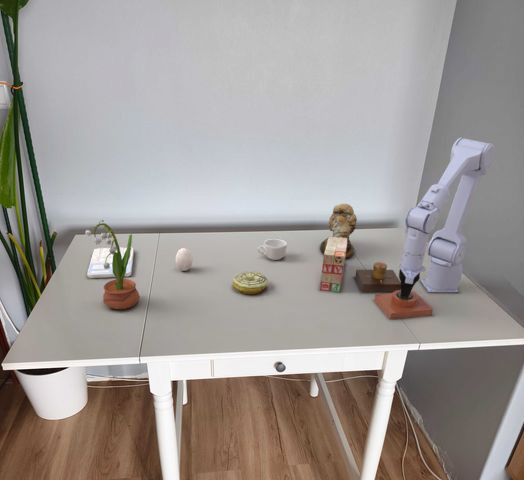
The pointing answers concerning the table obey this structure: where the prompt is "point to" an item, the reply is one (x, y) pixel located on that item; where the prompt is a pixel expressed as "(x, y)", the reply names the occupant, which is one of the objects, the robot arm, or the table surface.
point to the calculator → (99, 259)
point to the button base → (402, 305)
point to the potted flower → (117, 273)
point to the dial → (379, 270)
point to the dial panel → (377, 282)
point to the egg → (184, 259)
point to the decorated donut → (250, 282)
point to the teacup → (274, 248)
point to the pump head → (404, 296)
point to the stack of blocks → (333, 264)
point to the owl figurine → (342, 226)
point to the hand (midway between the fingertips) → (404, 295)
